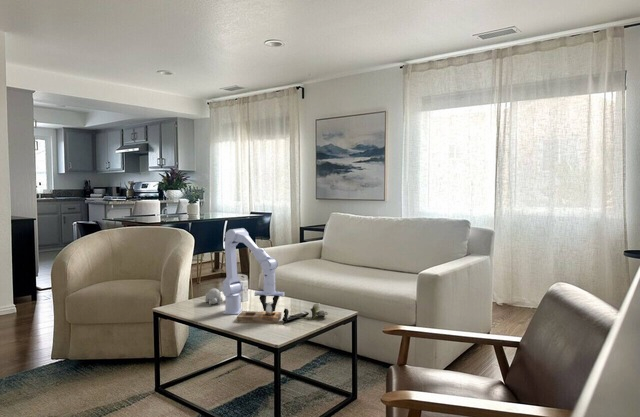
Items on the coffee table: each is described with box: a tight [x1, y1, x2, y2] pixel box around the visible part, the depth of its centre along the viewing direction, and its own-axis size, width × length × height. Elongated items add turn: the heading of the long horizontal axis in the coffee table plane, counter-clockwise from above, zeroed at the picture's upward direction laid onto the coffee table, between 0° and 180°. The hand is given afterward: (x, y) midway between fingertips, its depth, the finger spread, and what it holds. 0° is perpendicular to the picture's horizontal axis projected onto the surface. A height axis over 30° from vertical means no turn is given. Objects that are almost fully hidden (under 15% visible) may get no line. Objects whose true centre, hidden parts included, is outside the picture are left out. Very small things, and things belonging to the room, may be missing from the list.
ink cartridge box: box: [237, 273, 249, 303], centre depth 261 cm, size 9×5×15 cm, turn 58°
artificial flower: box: [282, 303, 329, 323], centre depth 224 cm, size 9×22×10 cm, turn 107°
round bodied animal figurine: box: [204, 287, 224, 306], centre depth 254 cm, size 7×12×8 cm, turn 47°
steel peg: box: [264, 301, 275, 316], centre depth 222 cm, size 4×4×7 cm
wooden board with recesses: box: [236, 310, 282, 324], centre depth 223 cm, size 10×20×3 cm, turn 84°
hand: (269, 310), depth 222 cm, fingers closed on steel peg, 4 cm apart
